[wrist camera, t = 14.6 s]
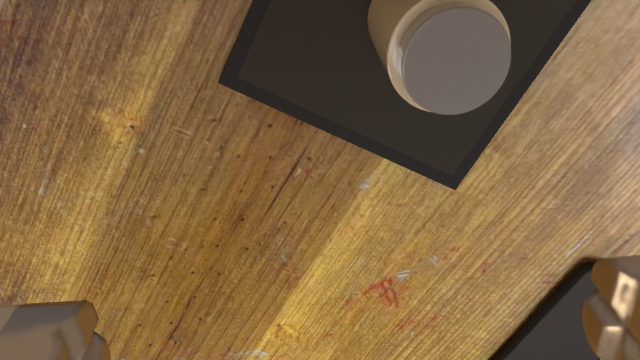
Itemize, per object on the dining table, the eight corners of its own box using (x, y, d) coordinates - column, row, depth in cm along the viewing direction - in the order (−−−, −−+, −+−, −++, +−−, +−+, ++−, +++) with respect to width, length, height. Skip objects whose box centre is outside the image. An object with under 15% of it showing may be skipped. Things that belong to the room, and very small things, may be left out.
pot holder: (218, 79, 30) (217, 83, 30) (354, -235, 24) (356, -238, 23) (452, 185, 34) (455, 191, 34) (625, -57, 28) (632, -56, 27)
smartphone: (464, 395, 43) (590, 262, 36) (461, 386, 44) (584, 254, 37) (537, 420, 45) (669, 297, 38) (533, 410, 46) (662, 288, 39)
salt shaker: (349, 40, 29) (367, 92, 22) (399, -54, 27) (437, -30, 20) (430, 81, 30) (472, 143, 23) (484, -5, 28) (549, 34, 21)
